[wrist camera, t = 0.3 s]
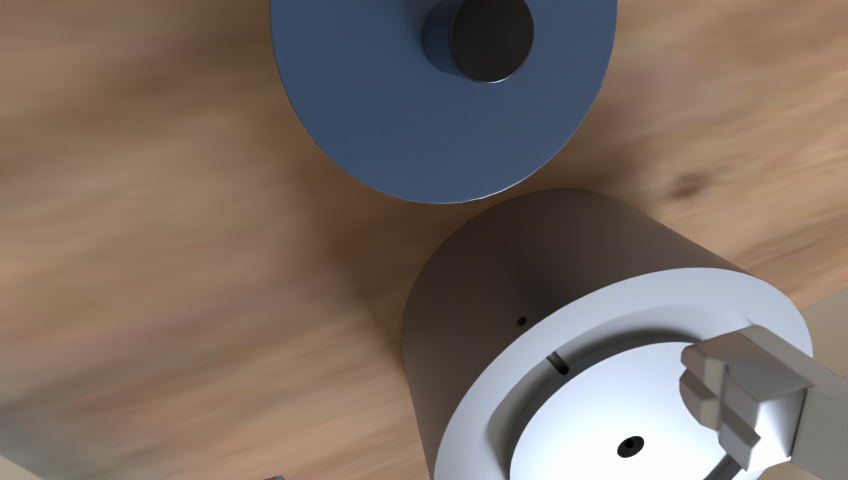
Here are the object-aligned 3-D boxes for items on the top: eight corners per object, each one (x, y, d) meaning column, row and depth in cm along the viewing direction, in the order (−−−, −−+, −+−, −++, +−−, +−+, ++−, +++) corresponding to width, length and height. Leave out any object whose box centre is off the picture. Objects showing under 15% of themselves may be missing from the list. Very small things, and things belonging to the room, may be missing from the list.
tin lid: (192, -54, 14) (124, -100, 9) (535, -261, 14) (642, -418, 9) (384, 245, 19) (402, 310, 15) (634, 104, 19) (733, 125, 14)
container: (591, 121, 33) (740, 168, 21) (706, 321, 43) (849, 428, 32) (337, 328, 36) (341, 472, 24) (504, 467, 46) (564, 614, 35)
